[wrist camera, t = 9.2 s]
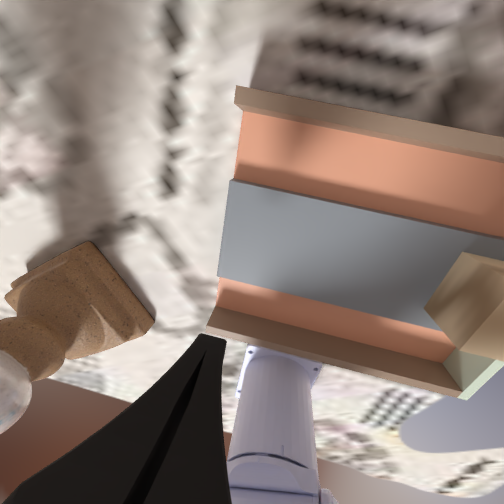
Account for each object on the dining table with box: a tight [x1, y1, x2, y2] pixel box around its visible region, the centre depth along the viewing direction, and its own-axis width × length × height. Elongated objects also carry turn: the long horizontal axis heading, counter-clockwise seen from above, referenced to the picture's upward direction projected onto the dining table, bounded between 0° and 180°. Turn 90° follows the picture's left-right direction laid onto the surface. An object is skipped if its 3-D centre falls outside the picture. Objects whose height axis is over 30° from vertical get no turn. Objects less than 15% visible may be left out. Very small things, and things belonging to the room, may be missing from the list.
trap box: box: [206, 85, 504, 400], centre depth 16 cm, size 18×23×3 cm
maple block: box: [424, 252, 504, 362], centre depth 14 cm, size 5×5×4 cm
